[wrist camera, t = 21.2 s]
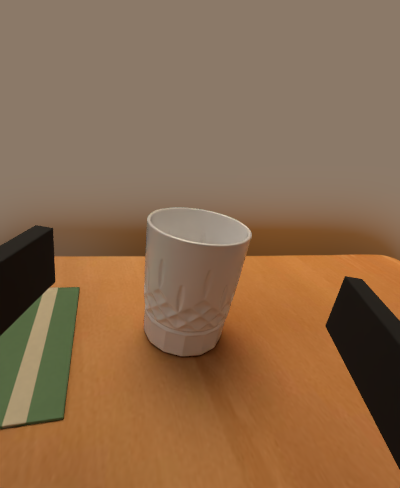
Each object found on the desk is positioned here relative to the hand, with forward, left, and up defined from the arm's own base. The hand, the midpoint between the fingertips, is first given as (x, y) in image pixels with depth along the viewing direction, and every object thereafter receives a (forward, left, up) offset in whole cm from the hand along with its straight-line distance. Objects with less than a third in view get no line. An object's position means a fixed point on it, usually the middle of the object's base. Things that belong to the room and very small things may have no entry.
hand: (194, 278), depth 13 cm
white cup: (-3, -9, -11) cm, 14 cm away
